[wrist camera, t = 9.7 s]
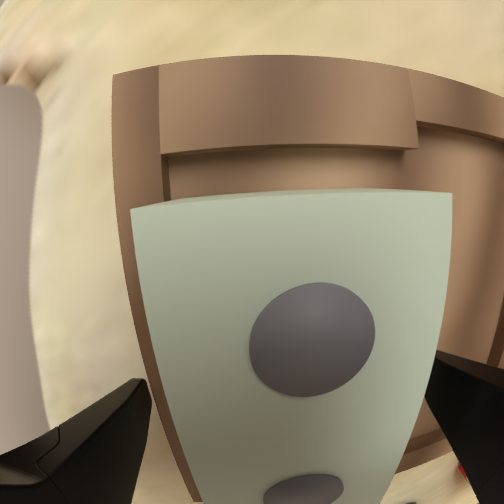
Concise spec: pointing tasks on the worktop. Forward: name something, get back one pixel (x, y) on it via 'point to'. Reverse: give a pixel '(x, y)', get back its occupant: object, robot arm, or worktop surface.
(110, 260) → the worktop surface
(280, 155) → the brown recessed board
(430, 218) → the pale green spotted block
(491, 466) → the robot arm
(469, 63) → the worktop surface
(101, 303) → the worktop surface
